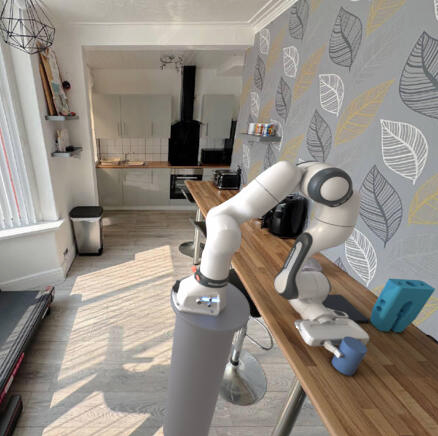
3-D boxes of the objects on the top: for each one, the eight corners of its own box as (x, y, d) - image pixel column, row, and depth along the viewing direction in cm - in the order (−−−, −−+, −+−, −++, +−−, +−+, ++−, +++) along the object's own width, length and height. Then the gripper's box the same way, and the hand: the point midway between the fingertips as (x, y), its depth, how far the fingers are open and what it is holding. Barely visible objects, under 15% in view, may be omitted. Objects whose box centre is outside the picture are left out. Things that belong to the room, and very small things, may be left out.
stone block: (314, 266, 127) (295, 259, 129) (319, 259, 125) (299, 252, 127) (320, 279, 117) (299, 272, 119) (326, 272, 115) (304, 265, 117)
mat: (324, 322, 90) (324, 320, 89) (300, 296, 102) (301, 294, 102) (368, 322, 91) (369, 320, 90) (339, 296, 103) (340, 294, 103)
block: (395, 321, 91) (421, 280, 83) (408, 332, 87) (437, 289, 79) (364, 319, 91) (387, 278, 83) (374, 330, 87) (400, 287, 79)
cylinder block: (341, 375, 71) (354, 353, 67) (327, 358, 76) (338, 336, 72) (358, 375, 71) (372, 352, 67) (343, 357, 76) (355, 336, 72)
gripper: (293, 313, 81) (323, 349, 68) (349, 312, 82) (388, 348, 70) (288, 326, 84) (316, 364, 71) (343, 325, 85) (379, 362, 72)
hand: (352, 356), depth 70 cm, fingers closed on cylinder block, 5 cm apart
